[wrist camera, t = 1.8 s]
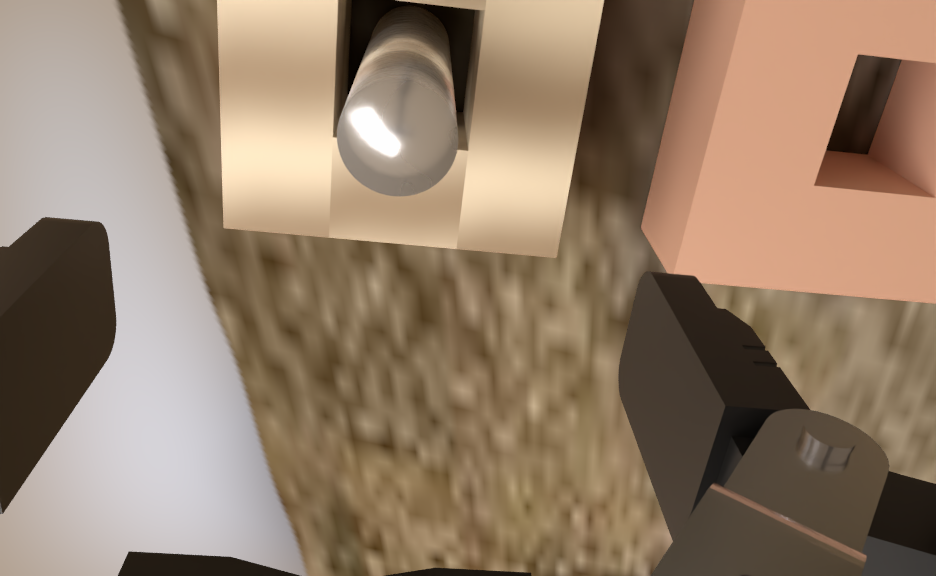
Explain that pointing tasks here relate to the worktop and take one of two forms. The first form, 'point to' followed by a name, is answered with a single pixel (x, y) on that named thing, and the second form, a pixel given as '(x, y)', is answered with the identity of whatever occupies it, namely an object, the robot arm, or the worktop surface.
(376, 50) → the lock pin
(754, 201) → the dock block
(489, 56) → the mount block
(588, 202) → the worktop surface
